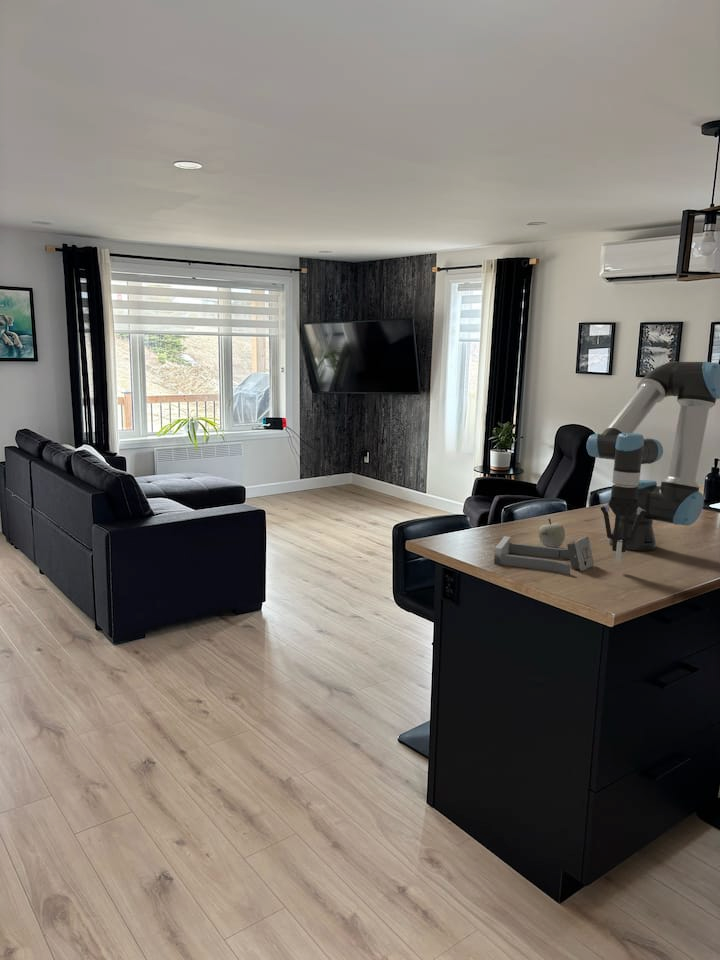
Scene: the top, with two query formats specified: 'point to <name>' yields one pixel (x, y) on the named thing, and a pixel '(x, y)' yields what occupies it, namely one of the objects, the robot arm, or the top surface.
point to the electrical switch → (580, 554)
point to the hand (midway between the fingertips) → (617, 561)
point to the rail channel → (528, 562)
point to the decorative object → (552, 534)
